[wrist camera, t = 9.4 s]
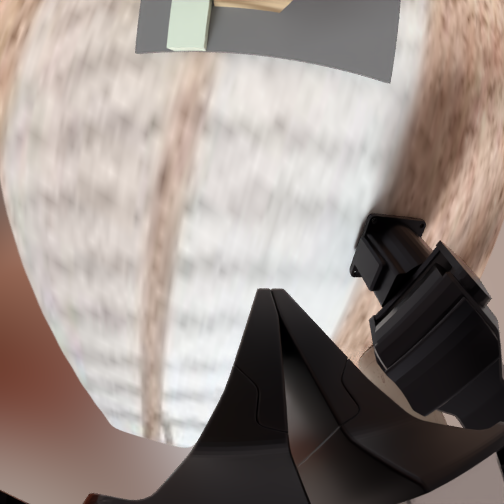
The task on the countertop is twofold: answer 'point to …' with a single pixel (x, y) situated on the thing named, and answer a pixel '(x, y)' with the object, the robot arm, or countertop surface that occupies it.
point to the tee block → (255, 4)
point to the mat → (293, 33)
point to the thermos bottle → (392, 387)
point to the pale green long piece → (189, 25)
